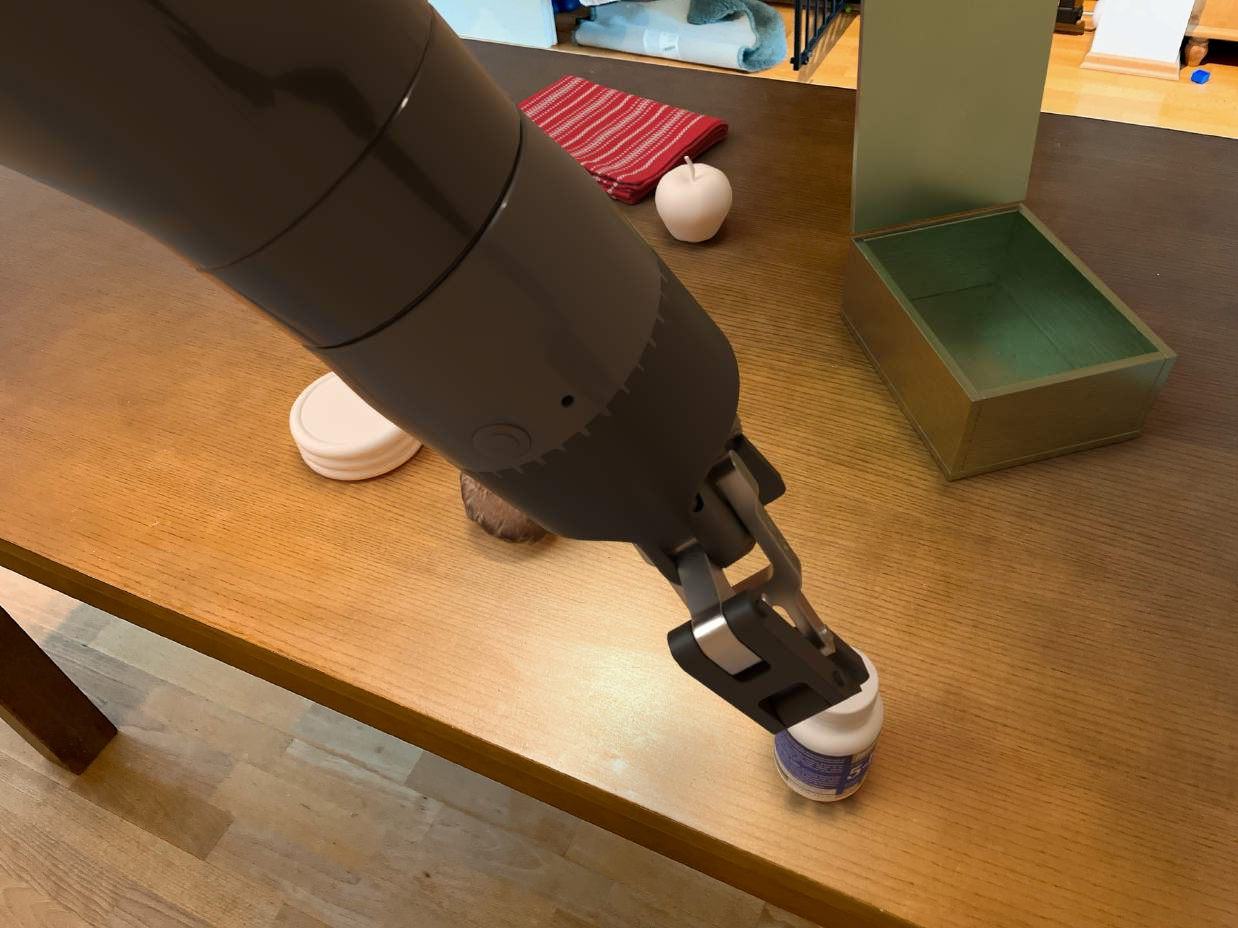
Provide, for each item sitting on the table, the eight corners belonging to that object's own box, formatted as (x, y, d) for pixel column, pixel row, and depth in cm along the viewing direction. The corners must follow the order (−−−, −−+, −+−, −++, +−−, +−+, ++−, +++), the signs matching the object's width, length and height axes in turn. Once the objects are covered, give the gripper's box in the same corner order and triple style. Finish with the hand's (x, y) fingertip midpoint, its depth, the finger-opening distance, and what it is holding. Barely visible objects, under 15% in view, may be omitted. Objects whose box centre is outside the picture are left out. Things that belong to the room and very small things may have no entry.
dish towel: (636, 210, 91) (635, 186, 89) (470, 146, 102) (465, 124, 100) (735, 137, 99) (735, 114, 98) (571, 86, 111) (568, 64, 109)
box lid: (1075, -97, 61) (1038, -103, 64) (868, -64, 59) (841, -72, 63) (1025, 200, 73) (996, 182, 77) (852, 234, 72) (831, 214, 75)
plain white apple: (645, 224, 89) (641, 147, 83) (711, 205, 91) (712, 128, 85) (674, 261, 85) (672, 183, 79) (743, 241, 86) (747, 163, 80)
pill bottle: (858, 817, 49) (882, 741, 43) (762, 785, 51) (771, 708, 44) (876, 730, 53) (901, 647, 46) (786, 703, 54) (797, 619, 48)
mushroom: (415, 493, 63) (455, 441, 59) (491, 456, 69) (533, 407, 65) (486, 585, 62) (532, 539, 58) (557, 539, 68) (603, 494, 64)
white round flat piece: (416, 379, 76) (406, 346, 73) (442, 459, 69) (432, 426, 67) (294, 413, 74) (280, 381, 72) (310, 500, 68) (295, 467, 65)
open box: (1137, 438, 66) (1178, 355, 61) (948, 481, 65) (972, 401, 59) (999, 282, 79) (1022, 203, 74) (839, 315, 78) (850, 236, 72)
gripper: (736, 461, 17) (982, 711, 28) (593, 110, 27) (819, 401, 38) (438, 641, 20) (774, 808, 31) (403, 259, 29) (670, 492, 40)
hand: (799, 582), depth 34 cm, fingers open, 8 cm apart
